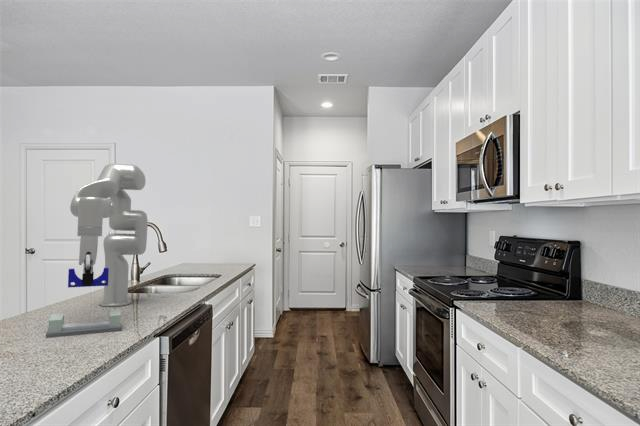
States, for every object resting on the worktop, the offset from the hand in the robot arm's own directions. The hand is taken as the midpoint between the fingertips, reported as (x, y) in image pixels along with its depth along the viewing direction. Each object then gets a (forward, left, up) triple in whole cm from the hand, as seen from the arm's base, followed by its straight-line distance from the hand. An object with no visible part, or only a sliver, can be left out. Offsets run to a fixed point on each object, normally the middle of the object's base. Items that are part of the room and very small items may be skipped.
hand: (87, 283), depth 140 cm
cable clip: (0, 0, -1) cm, 1 cm away
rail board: (+1, 0, -16) cm, 16 cm away
